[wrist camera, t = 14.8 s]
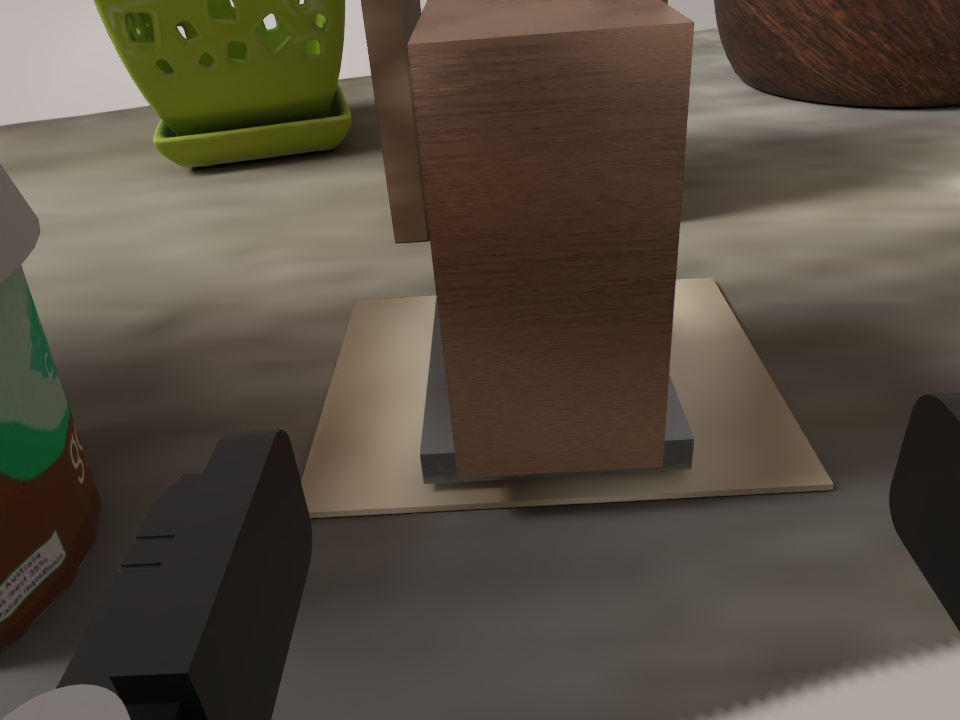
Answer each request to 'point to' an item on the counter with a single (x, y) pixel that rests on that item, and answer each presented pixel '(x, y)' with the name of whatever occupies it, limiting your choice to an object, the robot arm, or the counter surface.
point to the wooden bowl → (846, 49)
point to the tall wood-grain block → (552, 234)
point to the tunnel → (397, 111)
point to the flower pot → (235, 75)
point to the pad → (400, 486)
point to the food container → (34, 446)
